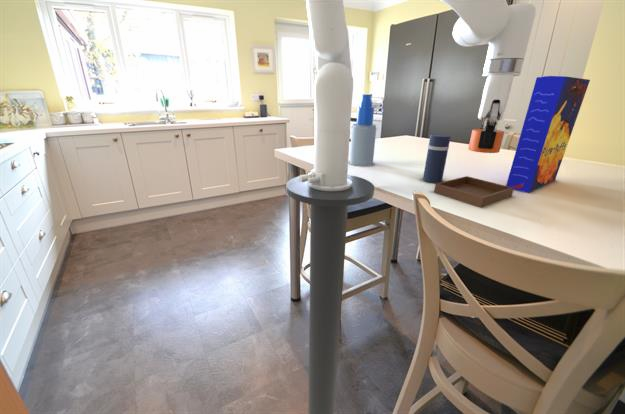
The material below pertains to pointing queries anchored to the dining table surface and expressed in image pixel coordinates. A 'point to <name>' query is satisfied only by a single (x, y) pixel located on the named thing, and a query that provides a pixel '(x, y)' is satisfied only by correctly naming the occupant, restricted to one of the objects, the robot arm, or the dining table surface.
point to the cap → (476, 136)
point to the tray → (473, 191)
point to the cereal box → (546, 131)
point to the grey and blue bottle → (363, 134)
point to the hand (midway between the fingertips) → (484, 145)
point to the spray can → (436, 158)
